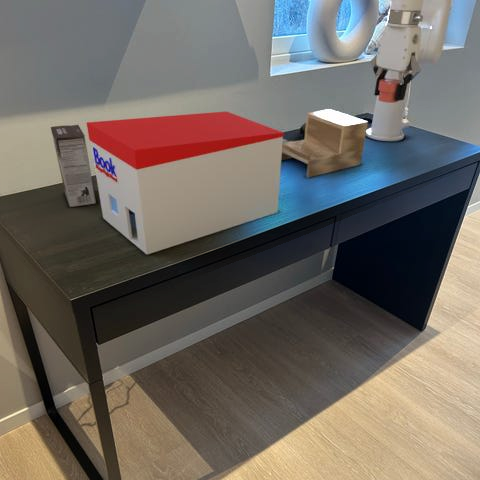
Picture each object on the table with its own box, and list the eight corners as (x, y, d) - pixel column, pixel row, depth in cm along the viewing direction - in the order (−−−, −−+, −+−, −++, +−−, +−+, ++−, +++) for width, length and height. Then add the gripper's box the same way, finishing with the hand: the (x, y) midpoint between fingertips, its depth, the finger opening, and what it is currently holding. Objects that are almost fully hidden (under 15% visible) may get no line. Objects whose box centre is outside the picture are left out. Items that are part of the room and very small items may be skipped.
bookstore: (101, 218, 110) (85, 122, 97) (226, 184, 127) (226, 99, 114) (145, 255, 96) (133, 150, 84) (278, 212, 114) (284, 119, 101)
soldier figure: (284, 144, 157) (305, 143, 147) (276, 157, 157) (296, 156, 147) (268, 128, 153) (288, 125, 143) (260, 141, 153) (280, 139, 143)
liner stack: (387, 96, 133) (390, 77, 130) (405, 101, 129) (409, 81, 126) (371, 99, 130) (374, 79, 127) (389, 104, 126) (393, 84, 123)
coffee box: (64, 193, 120) (49, 126, 111) (90, 189, 123) (78, 123, 113) (69, 207, 114) (54, 137, 104) (96, 203, 116) (85, 134, 106)
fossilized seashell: (330, 133, 156) (321, 130, 165) (321, 114, 153) (312, 112, 162) (310, 146, 157) (302, 142, 166) (301, 128, 154) (293, 125, 163)
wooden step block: (324, 149, 151) (329, 108, 144) (360, 164, 141) (368, 121, 133) (273, 161, 142) (276, 118, 135) (308, 177, 132) (313, 132, 124)
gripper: (442, 21, 114) (424, 102, 125) (386, 14, 126) (374, 89, 136) (422, 23, 111) (405, 106, 122) (366, 16, 122) (355, 92, 133)
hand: (388, 96), depth 129 cm, fingers closed on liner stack, 6 cm apart
